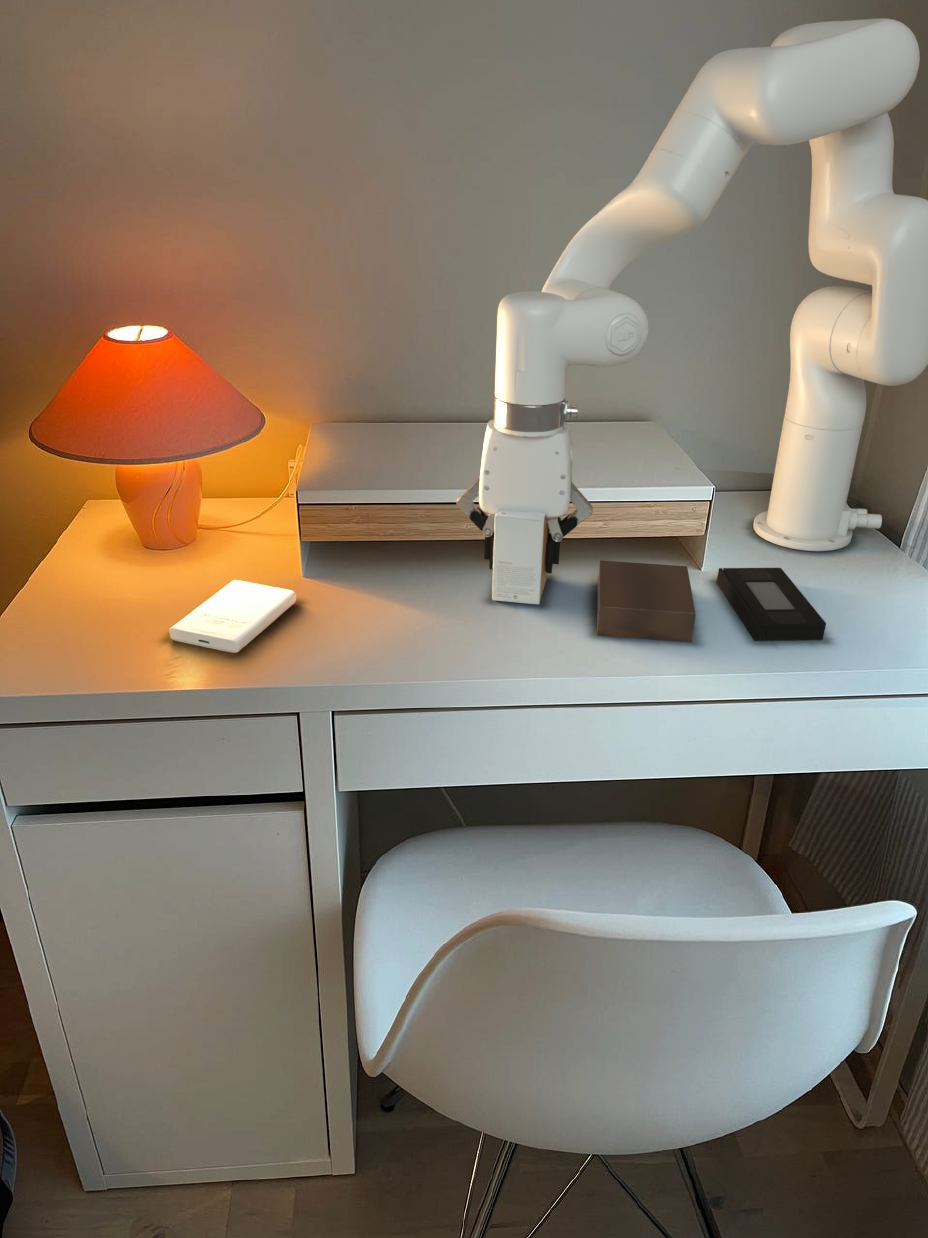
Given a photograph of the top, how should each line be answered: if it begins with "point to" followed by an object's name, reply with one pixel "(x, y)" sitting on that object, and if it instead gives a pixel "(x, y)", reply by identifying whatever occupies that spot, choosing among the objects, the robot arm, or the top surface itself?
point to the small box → (519, 556)
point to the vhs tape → (770, 604)
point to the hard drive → (233, 616)
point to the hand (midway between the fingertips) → (521, 565)
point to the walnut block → (645, 601)
